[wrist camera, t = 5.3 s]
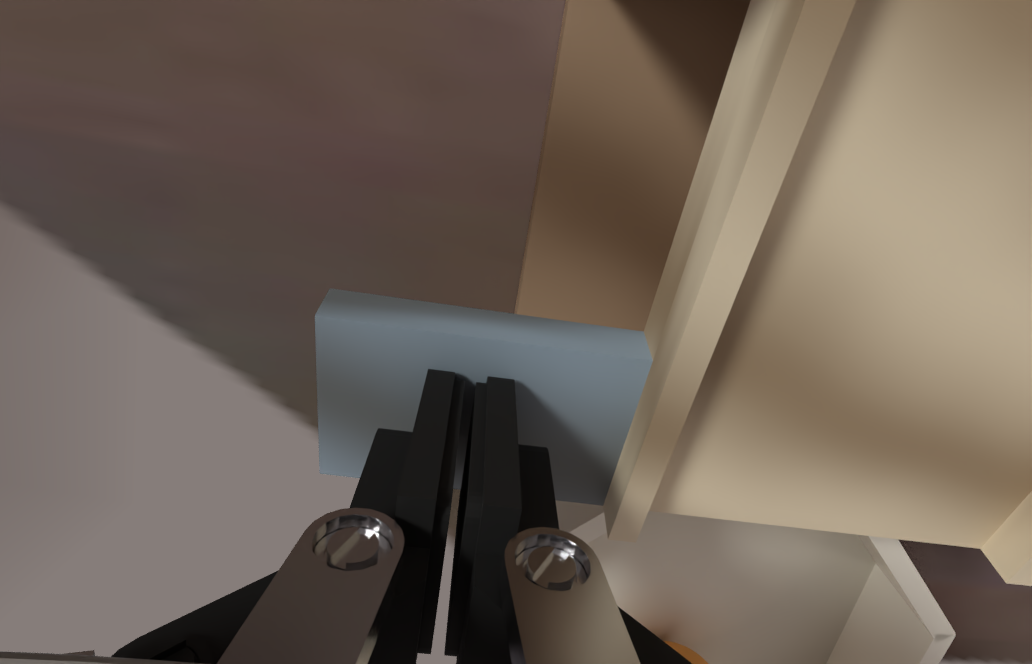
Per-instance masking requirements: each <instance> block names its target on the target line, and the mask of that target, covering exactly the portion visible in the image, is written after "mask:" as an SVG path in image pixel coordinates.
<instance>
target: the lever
mask: <svg viewBox="0 0 1032 664" xmlns="http://www.w3.org/2000/svg"><path fill="white" fill-rule="evenodd" d="M315 335H316V368H317V401H318V433H319V466H320V473H321V474H330V475H338V476H347V477H355V478H360V477H361V474H362V471H363V468H364V465H365V463H366V460H367V457H368V454H369V451H370V448H371V445H372V443H373V440H374V437H375V434H376V432H377V429H378V428H383V429H392V430H401V431H409V432H413V428H414V424H415V420H416V416H417V412H418V408H419V404H420V400H421V396H422V392H423V387H424V383H425V379H426V375H427V371H428V369H434V370H442V371H450V372H455V379H456V380H464V381H465V386H464V395H463V404H462V413H461V422H460V431H459V440H458V449H457V458H456V467H455V476H454V485H453V489H460V490H461V483H462V476H463V469H464V462H465V455H466V448H467V441H468V434H469V427H470V420H471V413H472V406H473V399H474V392H475V386H476V382H481V383H486V382H487V377H488V376H490V377H498V378H506V379H514V380H515V393H516V411H517V429H518V444H522V445H531V446H539V447H547V448H548V451H549V457H550V464H551V472H552V479H553V486H554V494H555V500H557V501H566V502H575V503H583V504H592V505H601V506H603V509H604V516H605V522H606V529H607V536H608V540H617V541H626V542H635V543H636V541H637V539H638V536H639V534H640V531H641V529H642V526H643V524H644V521H645V519H646V516H647V514H648V512H649V511H654V512H662V513H671V514H680V515H689V516H698V517H706V518H715V519H724V520H733V521H741V522H750V523H759V524H768V525H777V526H785V527H794V528H803V529H812V530H820V531H829V532H838V533H847V534H856V535H864V536H873V537H882V538H891V539H899V540H908V541H917V542H926V543H935V544H943V545H952V546H961V547H970V548H978V549H981V550H982V552H983V553H984V554H985V556H986V557H987V558H988V560H989V561H990V562H991V564H992V565H993V566H994V568H995V569H996V570H997V572H998V573H999V574H1000V576H1001V577H1002V578H1003V579H1004V581H1005V582H1006V583H1009V584H1018V585H1028V586H1032V0H751V1H750V4H749V7H748V10H747V13H746V16H745V19H744V23H743V26H742V29H741V32H740V35H739V38H738V41H737V44H736V47H735V50H734V54H733V57H732V60H731V63H730V66H729V69H728V72H727V75H726V78H725V81H724V85H723V88H722V91H721V94H720V97H719V100H718V103H717V106H716V109H715V112H714V115H713V119H712V122H711V125H710V128H709V131H708V134H707V137H706V140H705V143H704V146H703V150H702V153H701V156H700V159H699V162H698V165H697V168H696V171H695V174H694V177H693V181H692V184H691V187H690V190H689V193H688V196H687V199H686V202H685V205H684V208H683V212H682V215H681V218H680V221H679V224H678V227H677V230H676V233H675V236H674V239H673V242H672V246H671V249H670V252H669V255H668V258H667V261H666V264H665V267H664V270H663V273H662V277H661V280H660V283H659V286H658V289H657V292H656V295H655V298H654V301H653V304H652V308H651V311H650V314H649V317H648V320H647V323H646V326H645V329H644V332H643V331H636V330H628V329H621V328H614V327H607V326H599V325H592V324H585V323H578V322H570V321H563V320H556V319H548V318H541V317H534V316H527V315H519V314H512V313H505V312H497V311H490V310H483V309H476V308H468V307H461V306H454V305H446V304H439V303H432V302H425V301H417V300H410V299H403V298H396V297H388V296H381V295H374V294H366V293H359V292H352V291H345V290H337V289H329V291H328V293H327V295H326V296H325V298H324V300H323V302H322V304H321V305H320V307H319V309H318V311H317V313H316V314H315Z"/></svg>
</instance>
